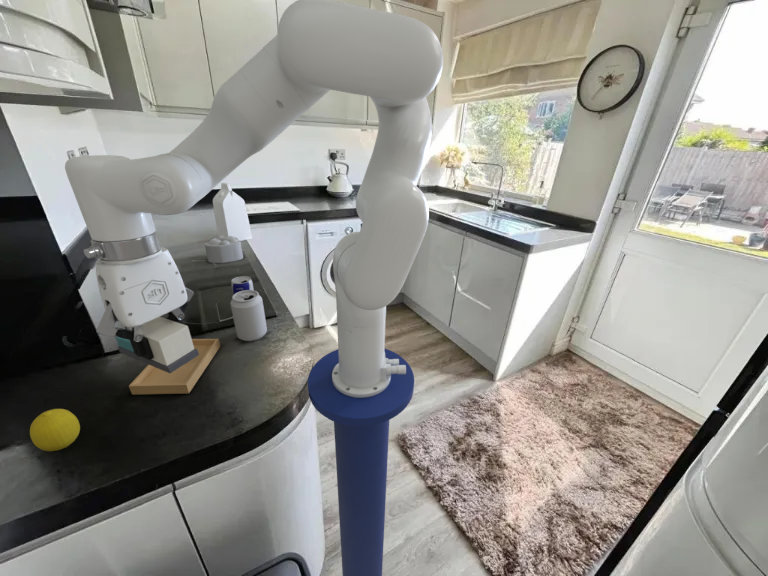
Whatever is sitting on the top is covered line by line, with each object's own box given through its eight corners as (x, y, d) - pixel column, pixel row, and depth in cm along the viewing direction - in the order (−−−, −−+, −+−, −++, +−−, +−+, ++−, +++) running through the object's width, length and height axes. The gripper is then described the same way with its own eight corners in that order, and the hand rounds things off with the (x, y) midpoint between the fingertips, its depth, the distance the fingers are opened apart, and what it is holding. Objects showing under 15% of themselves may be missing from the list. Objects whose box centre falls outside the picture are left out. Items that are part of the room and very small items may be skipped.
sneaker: (199, 354, 57) (191, 326, 54) (170, 373, 52) (159, 343, 50) (150, 336, 61) (140, 309, 59) (119, 352, 57) (107, 323, 54)
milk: (252, 238, 160) (244, 183, 149) (229, 243, 152) (218, 186, 141) (240, 233, 167) (231, 181, 156) (218, 237, 159) (207, 183, 148)
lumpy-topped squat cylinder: (244, 259, 134) (241, 239, 131) (210, 265, 128) (205, 244, 124) (238, 252, 142) (235, 232, 138) (206, 257, 135) (201, 237, 131)
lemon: (56, 466, 51) (34, 431, 48) (35, 454, 53) (12, 420, 50) (94, 438, 56) (76, 404, 53) (74, 429, 58) (55, 395, 54)
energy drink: (246, 324, 90) (239, 285, 85) (234, 318, 92) (226, 280, 87) (261, 315, 94) (255, 278, 89) (249, 310, 97) (243, 274, 91)
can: (255, 345, 81) (247, 304, 76) (230, 339, 83) (221, 298, 78) (273, 330, 88) (267, 290, 82) (250, 324, 90) (243, 286, 85)
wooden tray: (220, 346, 81) (218, 338, 80) (189, 393, 66) (186, 384, 65) (174, 346, 80) (171, 339, 79) (132, 394, 65) (128, 385, 64)
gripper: (73, 271, 39) (123, 386, 47) (198, 235, 53) (220, 328, 61) (41, 260, 42) (93, 371, 50) (167, 229, 56) (192, 319, 64)
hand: (163, 346), depth 55 cm, fingers closed on sneaker, 5 cm apart
